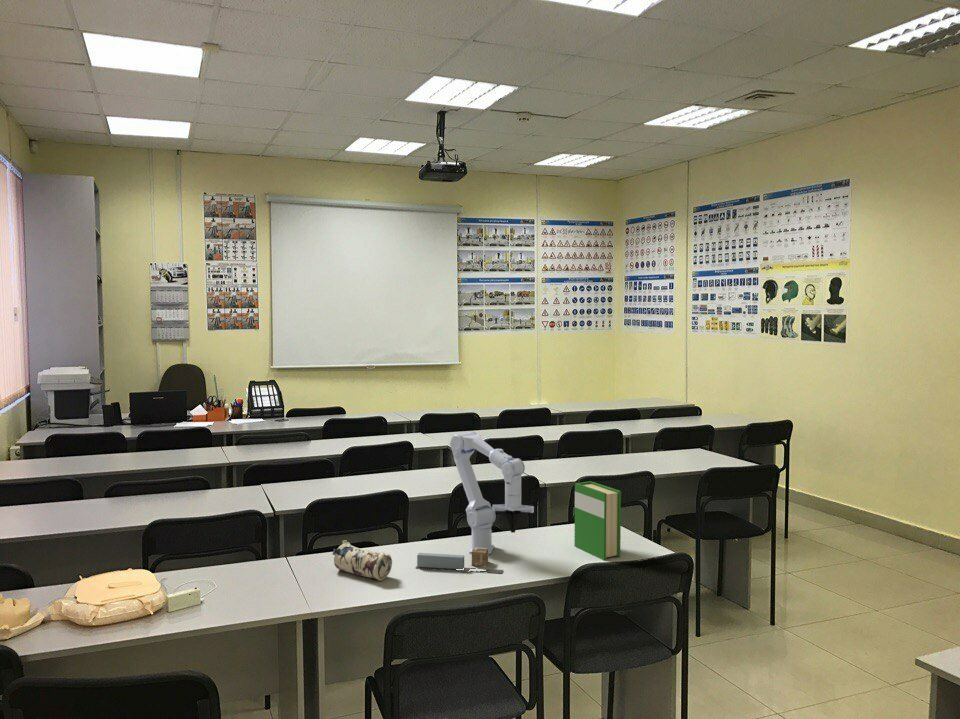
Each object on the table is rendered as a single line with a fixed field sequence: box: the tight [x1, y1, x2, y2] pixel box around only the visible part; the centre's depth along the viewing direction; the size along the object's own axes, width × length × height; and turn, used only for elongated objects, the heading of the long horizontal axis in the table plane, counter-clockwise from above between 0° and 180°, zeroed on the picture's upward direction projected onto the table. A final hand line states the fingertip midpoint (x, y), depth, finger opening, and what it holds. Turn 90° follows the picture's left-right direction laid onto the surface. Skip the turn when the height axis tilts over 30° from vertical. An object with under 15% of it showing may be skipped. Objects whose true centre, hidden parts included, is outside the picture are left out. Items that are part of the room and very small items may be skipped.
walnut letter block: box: [471, 547, 489, 567], centre depth 252 cm, size 5×5×5 cm
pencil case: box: [332, 539, 393, 582], centre depth 241 cm, size 22×8×10 cm, turn 55°
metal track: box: [415, 565, 504, 575], centre depth 246 cm, size 3×30×1 cm, turn 80°
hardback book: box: [574, 480, 622, 561], centre depth 264 cm, size 18×7×24 cm, turn 28°
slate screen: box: [416, 552, 465, 569], centre depth 247 cm, size 2×16×4 cm, turn 80°
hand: (513, 531), depth 254 cm, fingers closed
